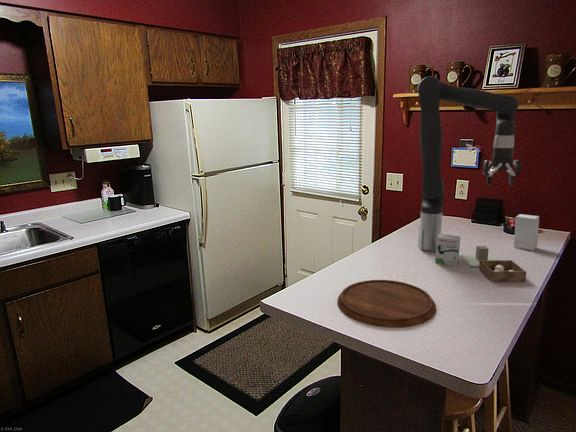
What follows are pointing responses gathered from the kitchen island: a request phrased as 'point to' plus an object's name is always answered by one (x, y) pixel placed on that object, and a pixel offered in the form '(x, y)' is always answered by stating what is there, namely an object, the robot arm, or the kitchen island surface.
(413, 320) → the cutting board
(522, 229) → the skincare box
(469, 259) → the lid
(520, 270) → the box
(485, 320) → the kitchen island surface
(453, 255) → the ink box
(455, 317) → the kitchen island surface
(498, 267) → the bead
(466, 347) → the kitchen island surface
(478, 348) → the kitchen island surface
